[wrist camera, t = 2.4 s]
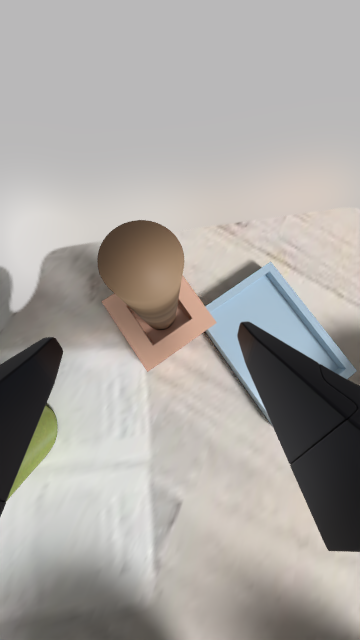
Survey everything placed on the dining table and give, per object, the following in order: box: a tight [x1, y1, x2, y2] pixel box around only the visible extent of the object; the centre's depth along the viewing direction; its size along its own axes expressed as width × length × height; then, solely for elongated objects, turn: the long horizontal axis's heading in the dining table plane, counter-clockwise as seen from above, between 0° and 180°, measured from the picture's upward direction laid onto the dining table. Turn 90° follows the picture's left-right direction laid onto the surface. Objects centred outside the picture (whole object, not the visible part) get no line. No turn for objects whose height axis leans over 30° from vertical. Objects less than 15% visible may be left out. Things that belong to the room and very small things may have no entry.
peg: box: [97, 220, 184, 330], centre depth 12 cm, size 3×3×12 cm
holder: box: [101, 275, 217, 372], centre depth 18 cm, size 8×8×2 cm
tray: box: [205, 262, 357, 426], centre depth 18 cm, size 14×10×2 cm
